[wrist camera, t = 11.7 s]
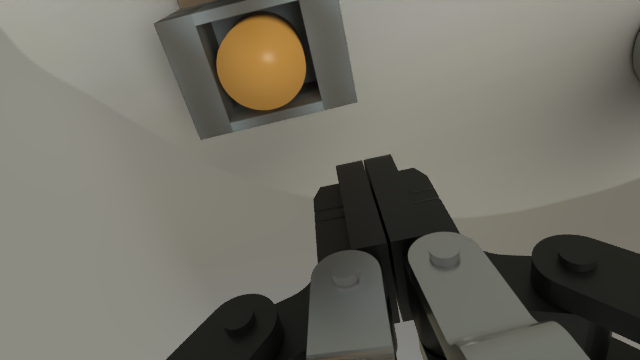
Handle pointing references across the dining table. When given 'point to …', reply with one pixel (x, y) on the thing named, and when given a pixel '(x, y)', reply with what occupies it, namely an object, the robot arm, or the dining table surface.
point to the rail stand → (210, 30)
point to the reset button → (262, 61)
